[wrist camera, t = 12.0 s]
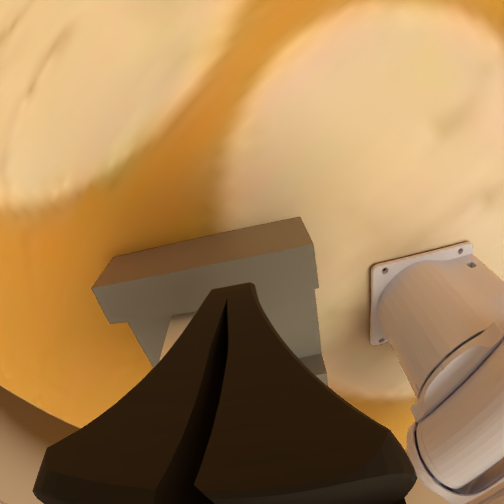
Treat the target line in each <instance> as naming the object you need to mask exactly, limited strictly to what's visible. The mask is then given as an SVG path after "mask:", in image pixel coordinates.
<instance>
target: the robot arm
mask: <svg viewBox="0 0 504 504" xmlns="http://www.w3.org/2000/svg"><path fill="white" fill-rule="evenodd" d="M459 249H460V251H459ZM458 251H459V252H458ZM383 268H386V269H385V271H382V270H383ZM381 338H382V339H381ZM387 342H390V344H391V346H392V348H393V350H394V352H395V354H396V356H397V358H398V360H399V362H400V364H401V366H402V368H403V370H404V372H405V374H406V376H407V378H408V380H409V382H410V384H411V386H412V388H413V391H414V393H415V395H416V397H417V399H418V400H417V402H416V403H415V404H414V405H413V406H412V407H411V411H412V413H413V415H414V418H415V420H416V421H415V422H414V423H413V424H412V425H411V426H410V428H409V430H408V433H407V453H406V452H405V450H404V449H403V447H402V446H401V444H400V443H399V442H398V440H397V439H396V437H395V436H394V435H393V433H392V432H391V431H390V430H389V429H388V428H386V427H384V426H383V425H381V424H379V423H378V422H376V421H374V420H373V419H371V418H370V417H368V416H367V415H365V414H364V413H362V412H361V411H359V410H358V409H356V408H355V407H353V406H352V405H351V404H349V403H348V402H347V401H345V400H344V399H343V398H341V397H340V396H339V395H337V394H336V393H335V392H334V391H333V390H331V389H330V388H329V387H328V386H327V385H326V384H324V383H323V382H322V381H321V380H320V379H319V378H318V377H316V376H315V375H314V374H313V373H312V372H311V371H310V370H309V369H308V368H307V367H306V366H305V365H304V364H303V363H302V362H301V361H300V360H299V359H298V357H297V356H296V355H295V354H294V353H293V352H292V351H291V349H290V348H289V347H288V346H287V345H286V343H285V342H284V341H283V339H282V338H281V337H280V335H279V334H278V333H277V331H276V330H275V328H274V327H273V325H272V324H271V322H270V321H269V319H268V317H267V316H266V314H265V312H264V310H263V308H262V307H261V304H260V302H259V299H258V295H257V291H256V287H255V284H253V283H251V282H248V283H243V284H238V285H232V286H227V287H222V288H216V289H212V290H211V291H210V293H209V294H208V295H207V297H206V298H205V300H204V301H203V303H202V304H201V306H200V307H199V309H198V311H197V312H196V314H195V315H194V317H193V318H192V320H191V321H190V322H189V324H188V325H187V327H186V328H185V330H184V331H183V333H182V334H181V335H180V337H179V338H178V339H177V340H176V342H175V343H174V344H173V346H172V347H171V348H170V349H169V351H168V352H167V353H166V355H165V356H164V357H163V358H162V359H161V360H160V362H159V363H158V364H157V365H156V366H155V367H154V368H153V369H152V370H151V371H150V372H149V373H148V374H147V375H146V377H145V378H144V379H143V380H142V381H141V382H139V383H138V384H137V385H136V386H135V387H134V388H133V389H132V390H131V391H129V392H128V393H127V394H126V395H125V396H124V397H123V398H122V399H120V400H119V401H118V402H117V403H116V404H115V405H113V406H112V407H111V408H109V409H108V410H107V411H106V412H104V413H103V414H102V415H100V416H99V417H97V418H96V419H95V420H93V421H92V422H90V423H89V424H87V425H86V426H84V427H83V428H81V429H80V430H78V431H76V432H75V433H73V434H71V435H70V436H68V437H66V438H64V439H62V440H61V441H59V442H57V443H55V444H54V445H52V446H50V447H48V448H47V450H46V452H45V455H44V458H43V461H42V464H41V467H40V470H39V473H38V476H37V479H36V482H35V485H34V488H33V493H34V495H35V496H36V497H37V499H39V500H40V501H41V502H43V503H44V504H406V502H405V499H404V497H405V496H406V495H407V494H408V492H409V491H410V490H411V489H412V487H413V486H414V484H415V482H416V480H417V478H418V479H419V481H420V482H421V483H422V484H423V485H424V486H425V487H427V488H428V489H430V490H432V491H433V492H435V493H437V494H439V495H440V496H442V497H443V498H444V499H445V500H447V501H448V502H449V503H450V504H504V282H503V281H502V280H501V279H500V278H499V277H498V276H497V275H496V274H495V273H493V272H492V271H491V270H490V269H489V268H488V267H487V266H486V265H485V264H483V263H482V262H481V261H480V260H479V259H478V258H476V257H475V256H474V255H473V244H472V243H471V242H470V241H468V242H464V243H460V244H456V245H452V246H448V247H445V248H441V249H437V250H433V251H429V252H425V253H421V254H417V255H413V256H408V257H404V258H400V259H396V260H392V261H388V262H383V263H379V264H376V265H374V266H373V267H372V269H371V319H370V343H371V345H372V346H376V345H380V344H383V343H387ZM0 504H6V503H5V502H3V501H1V500H0Z"/></svg>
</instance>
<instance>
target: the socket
mask: <svg viewBox="0 0 504 504" xmlns="http://www.w3.org/2000/svg"><path fill="white" fill-rule="evenodd" d="M248 282H251V283H253V284H255V287H256V291H257V295H258V299H259V302H260V304H261V307H262V308H263V310H264V312H265V314H266V316H267V317H268V319H269V321H270V322H271V324H272V325H273V327H274V328H275V330H276V331H277V333H278V334H279V335H280V337H281V338H282V339H283V341H284V342H285V343H286V345H287V346H288V347H289V348H290V349H291V351H292V352H293V353H294V354H295V355H296V356H297V357H298V359H299V360H300V361H301V362H302V363H303V364H304V365H305V366H306V367H307V368H308V369H309V370H310V371H311V372H312V373H313V374H314V375H315V376H316V377H318V378H319V379H320V380H321V381H322V382H323V383H324V384H326V385H327V372H326V369H325V365H324V361H323V358H322V354H321V345H320V335H319V325H318V316H317V307H316V298H315V290H314V289H316V288H319V285H318V277H317V268H316V260H315V253H314V245H313V242H312V240H311V238H310V236H309V234H308V232H307V230H306V228H305V226H304V224H303V222H302V219H301V217H297V218H292V219H287V220H282V221H277V222H272V223H267V224H263V225H258V226H253V227H248V228H243V229H238V230H234V231H229V232H224V233H220V234H215V235H210V236H206V237H201V238H196V239H192V240H187V241H183V242H178V243H174V244H169V245H165V246H161V247H156V248H152V249H147V250H143V251H139V252H134V253H130V254H126V255H121V256H117V257H113V259H112V260H111V261H110V263H109V264H108V266H107V267H106V268H105V270H104V271H103V272H102V274H101V275H100V277H99V278H98V280H97V281H96V282H95V284H94V285H93V287H92V288H91V289H92V291H93V293H94V295H95V297H96V299H97V301H98V302H99V304H100V306H101V308H102V310H103V312H104V314H105V316H106V317H107V319H108V321H109V323H110V324H114V323H121V322H128V323H129V325H130V327H131V329H132V331H133V333H134V334H135V336H136V338H137V340H138V342H139V343H140V345H141V347H142V349H143V351H144V352H145V354H146V356H147V357H148V359H149V361H150V362H151V364H152V366H153V368H154V367H155V366H156V365H157V364H158V363H159V362H160V356H161V353H162V349H163V345H164V342H165V338H166V334H167V331H168V327H169V324H170V320H171V317H172V315H176V314H182V313H188V312H194V311H198V309H199V307H200V306H201V304H202V303H203V301H204V300H205V298H206V297H207V295H208V294H209V293H210V291H211V290H212V289H216V288H222V287H227V286H232V285H238V284H243V283H248ZM327 386H328V385H327Z"/></svg>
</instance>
